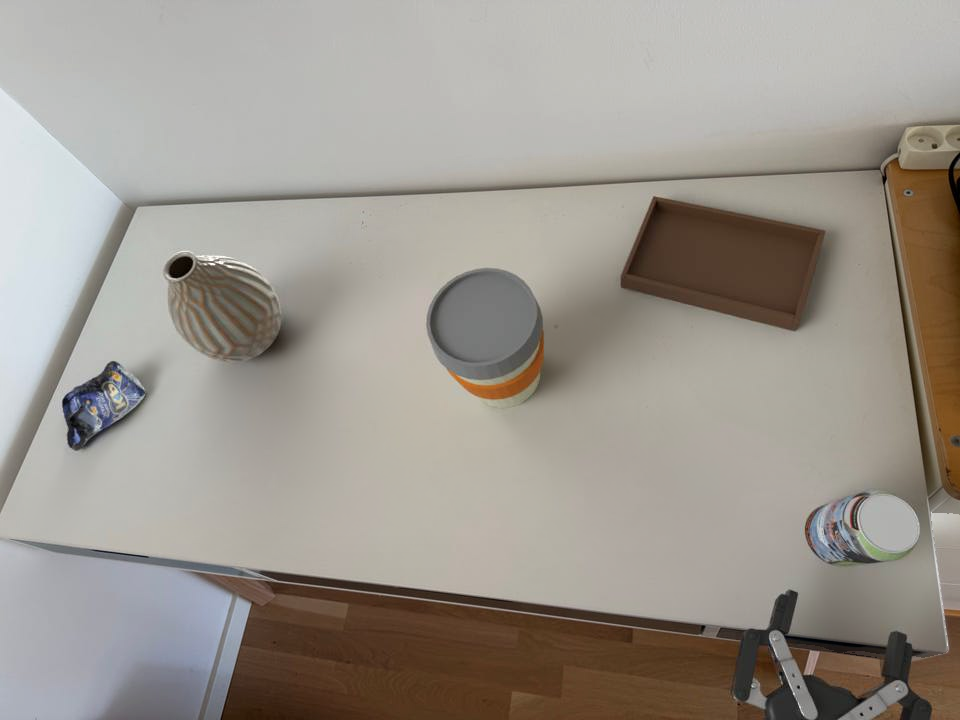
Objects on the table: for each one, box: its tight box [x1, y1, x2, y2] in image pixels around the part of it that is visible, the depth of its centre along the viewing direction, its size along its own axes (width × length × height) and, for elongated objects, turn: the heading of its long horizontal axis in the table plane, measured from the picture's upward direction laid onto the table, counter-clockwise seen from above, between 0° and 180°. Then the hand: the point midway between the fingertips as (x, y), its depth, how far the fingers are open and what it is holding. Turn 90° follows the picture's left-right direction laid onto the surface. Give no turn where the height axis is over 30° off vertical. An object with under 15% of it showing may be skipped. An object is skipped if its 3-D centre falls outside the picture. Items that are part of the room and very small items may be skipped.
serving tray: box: [620, 195, 826, 332], centre depth 81 cm, size 21×13×3 cm, turn 65°
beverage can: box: [804, 489, 921, 567], centre depth 60 cm, size 6×7×12 cm
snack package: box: [61, 360, 147, 452], centre depth 90 cm, size 12×6×12 cm
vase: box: [162, 250, 283, 363], centre depth 85 cm, size 13×13×18 cm
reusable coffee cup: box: [425, 267, 545, 409], centre depth 75 cm, size 13×13×15 cm
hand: (843, 611), depth 57 cm, fingers open, 8 cm apart
